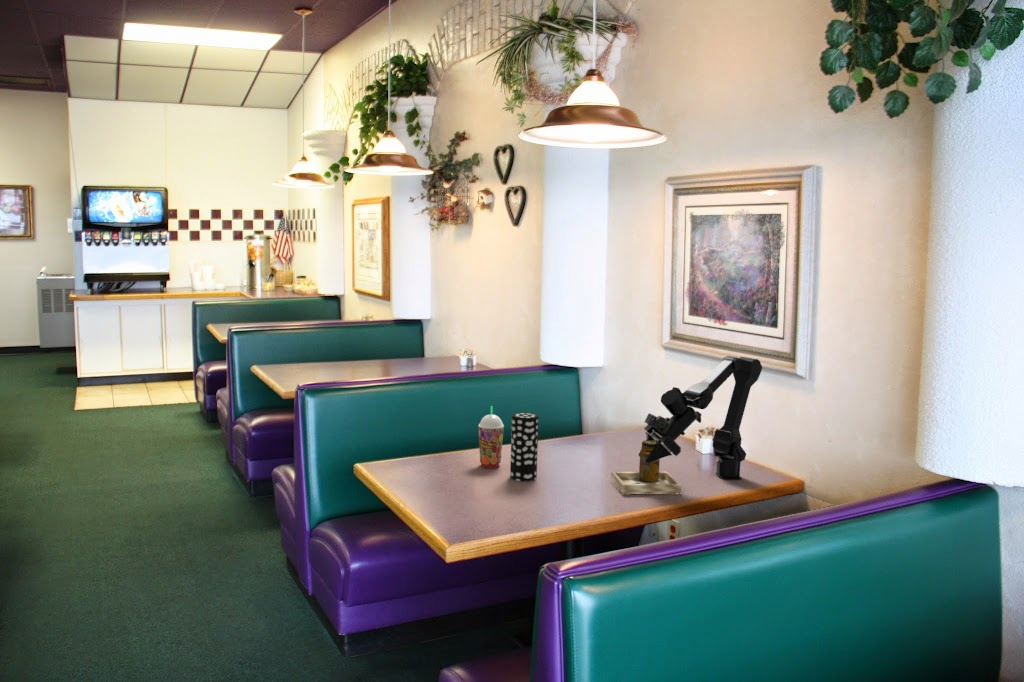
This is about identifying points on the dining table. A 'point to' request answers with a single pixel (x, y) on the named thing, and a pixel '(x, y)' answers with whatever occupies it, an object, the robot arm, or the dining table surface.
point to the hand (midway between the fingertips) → (642, 459)
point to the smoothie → (490, 440)
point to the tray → (631, 487)
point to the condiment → (647, 465)
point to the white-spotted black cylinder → (524, 446)
